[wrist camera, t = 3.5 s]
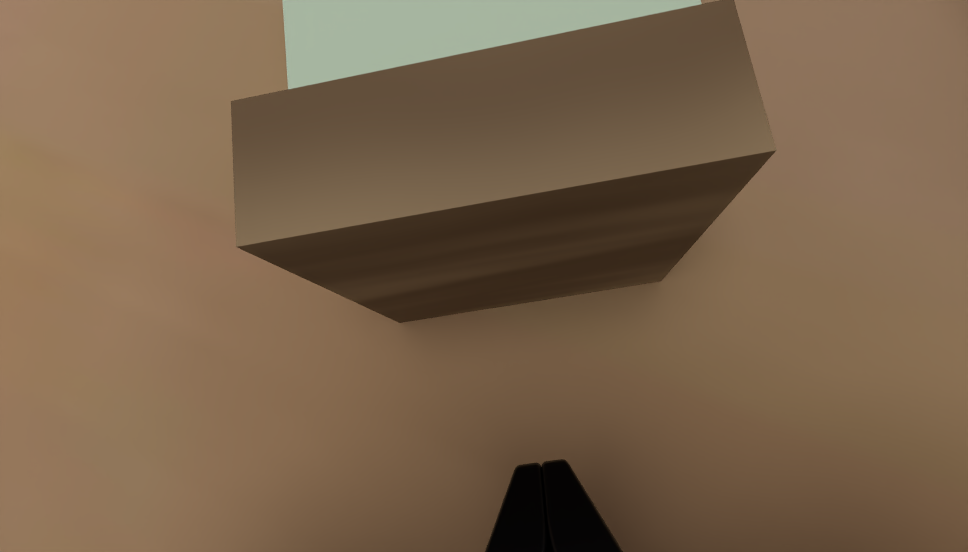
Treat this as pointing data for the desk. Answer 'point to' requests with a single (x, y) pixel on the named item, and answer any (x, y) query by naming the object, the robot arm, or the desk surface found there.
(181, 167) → the desk surface
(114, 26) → the desk surface
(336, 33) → the green mat
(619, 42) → the walnut plaque
